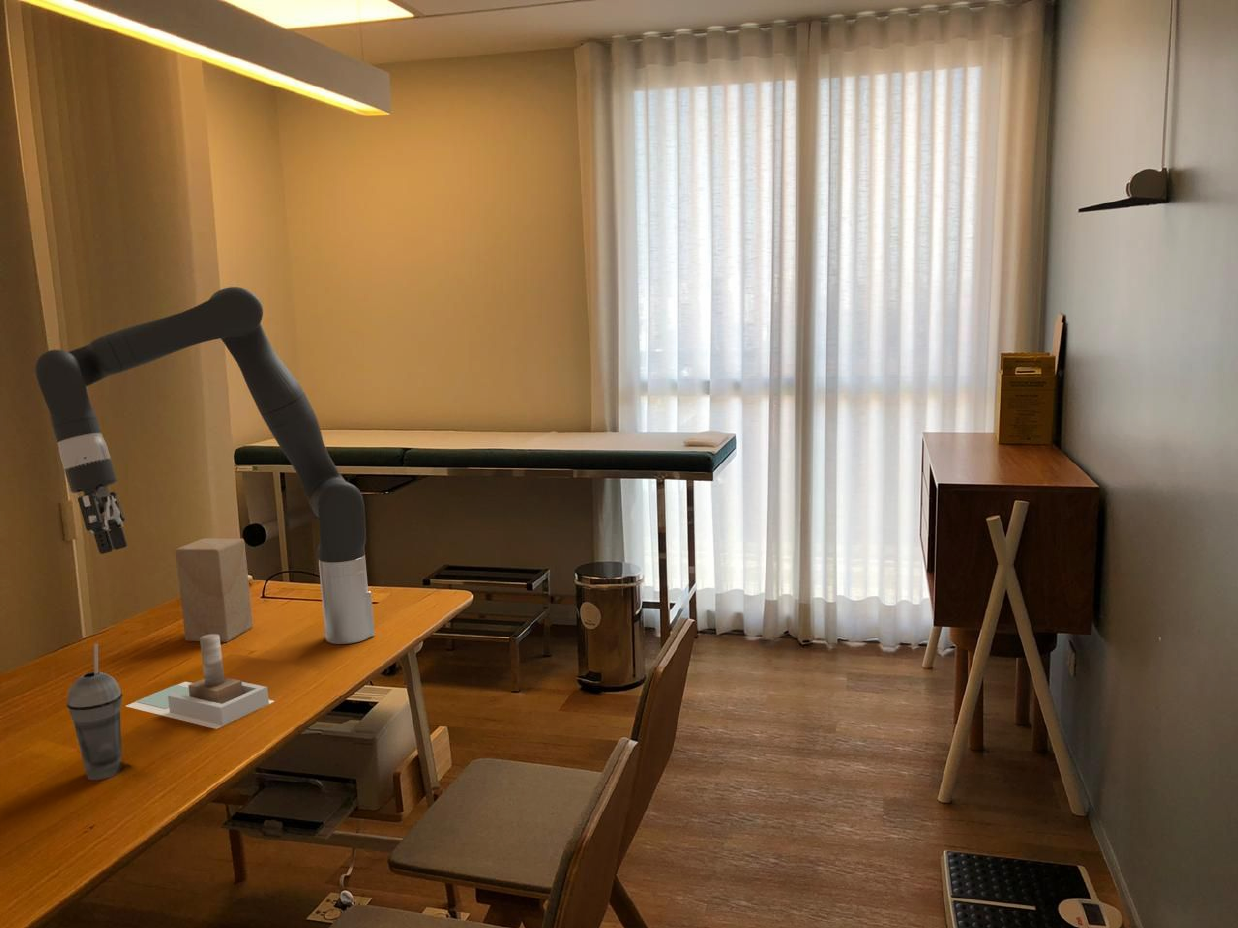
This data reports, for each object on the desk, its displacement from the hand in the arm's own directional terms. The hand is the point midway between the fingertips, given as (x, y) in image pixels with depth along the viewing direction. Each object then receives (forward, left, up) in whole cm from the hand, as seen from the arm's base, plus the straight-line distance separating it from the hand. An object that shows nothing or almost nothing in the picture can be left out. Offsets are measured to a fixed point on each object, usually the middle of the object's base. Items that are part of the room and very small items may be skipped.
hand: (114, 550), depth 172 cm
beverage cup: (+7, +34, -27) cm, 43 cm away
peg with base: (-11, +22, -25) cm, 35 cm away
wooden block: (-19, -25, -27) cm, 42 cm away
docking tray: (-9, +18, -27) cm, 33 cm away
